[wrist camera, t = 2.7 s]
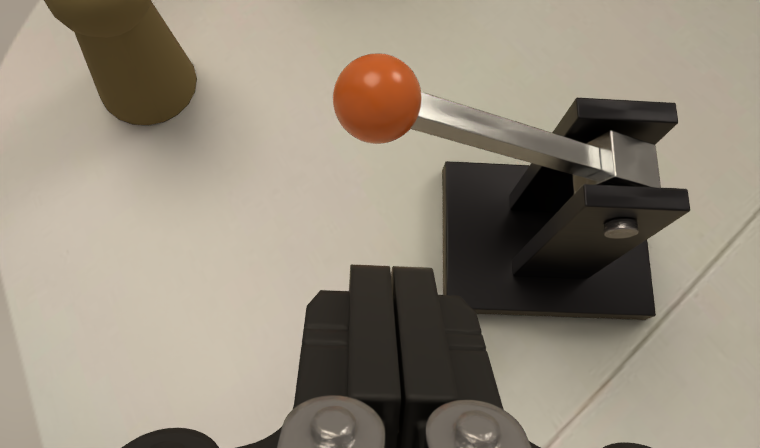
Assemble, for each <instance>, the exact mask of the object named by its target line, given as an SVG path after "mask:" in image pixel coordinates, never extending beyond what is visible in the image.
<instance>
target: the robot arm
mask: <svg viewBox="0 0 760 448" xmlns="http://www.w3.org/2000/svg"><path fill="white" fill-rule="evenodd" d="M122 448H219V447H218V446H217V444H216V443H215V442H214V441H213V440H212V439H211V438H210V437H208V436H207V435H205V434H203V433H201V432H198V431H196V430H191V429H187V428H167V429H161V430H156V431H153V432H150V433H147V434H145V435H142V436H140V437H138V438H136V439H134V440H133V441H131V442H129V443H128V444H126V445H125V446H123V447H122ZM237 448H540V447H538V446H536V445H535V444H533V443H531V442H530V441H528V438H527V436H526V433H525V431H524V430H523V428H522V426H521V425H520V424H519V422H518V421H517V420H516V419H515V418H514V417H513V416H512V415H510V414H509V413H507V412H506V411H504V410H503V406H502V403H501V399H500V396H499V392H498V388H497V385H496V381H495V378H494V374H493V371H492V367H491V364H490V360H489V357H488V353H487V351H486V346H485V343H484V339H483V336H482V335H481V328H480V325H479V321H478V318H477V314H476V312H475V311H474V310H473V309H472V308H471V307H470V306H469V305H468V304H467V303H466V302H465V301H464V300H463V298H462V297H461V296H451V295H438V293H437V288H436V283H435V278H434V273H433V269H432V268H422V267H399V266H393V267H392V272H390V266H373V265H351V266H350V282H349V291H326V290H320V291H319V293H318V294H317V295H316V296H315V297H314V298H313V299H312V301H311V302H310V303H309V304H308V305H307V308H306V315H305V323H304V331H303V339H302V347H301V354H300V362H299V370H298V378H297V385H296V393H295V401H294V407H293V410H292V411H291V412H290V413H289V414H288V416H287V417H286V419H285V421H284V423H283V426H282V427H281V428H280V429H279V430H277V431H276V432H275V433H273V434H272V435H270V436H268V437H267V438H265V439H263V440H260V441H258V442H256V443H252V444H249V445H245V446H241V447H237ZM603 448H651V447H648V446H645V445H641V444H636V443H615V444H610V445H607V446H605V447H603Z"/></svg>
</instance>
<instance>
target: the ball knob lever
mask: <svg viewBox="0 0 760 448" xmlns="http://www.w3.org/2000/svg"><path fill="white" fill-rule="evenodd" d="M333 105H334V110H335V113H336V116H337V118H338V120H339V122H340V124H341V125H342V126H343V128H344V129H345V130H346V131H347V132H348V133H349V134H351V135H352V136H354V137H355V138H357V139H359V140H361V141H364V142H367V143H373V144H380V143H387V142H391V141H394V140H396V139H398V138H400V137H401V136H403V135H404V134H405V133H406V132H407V131H409V130H410V129H412V130H416V131H419V132H423V133H427V134H430V135H434V136H437V137H441V138H444V139H448V140H451V141H455V142H459V143H462V144H466V145H469V146H473V147H476V148H480V149H484V150H487V151H491V152H494V153H498V154H501V155H505V156H508V157H512V158H516V159H519V160H523V161H526V162H530V163H533V164H537V165H540V166H544V167H548V168H551V169H555V170H558V171H562V172H565V173H569V174H572V175H573V184H574V194H575V193H576V192H577V191H578V190H579V189H580V188H581V187H582V185H584V184H594V185H614V186H635V187H656V188H661V185H660V177H659V168H658V160H657V152H656V146H655V145H654V144H651V143H648V142H645V141H642V140H639V139H636V138H633V137H630V136H627V135H624V134H621V133H618V132H615V131H612V130H610V131H608V132H606V133H604V134H602V135H600V136H598V137H596V138H594V139H592V140H590V141H588V142H586V143H583V142H580V141H576V140H573V139H570V138H567V137H564V136H561V135H557V134H554V133H551V132H548V131H545V130H541V129H538V128H535V127H532V126H529V125H525V124H522V123H519V122H516V121H513V120H510V119H506V118H503V117H500V116H497V115H494V114H490V113H487V112H484V111H481V110H478V109H474V108H471V107H468V106H465V105H462V104H458V103H455V102H452V101H449V100H446V99H443V98H439V97H436V96H433V95H430V94H427V93H423V92H421V88H420V85H419V82H418V80H417V78H416V76H415V74H414V73H413V71H412V70H411V69H410V68H409V67H408V66H407V65H406V64H405V63H404V62H402V61H401V60H399V59H397V58H396V57H393V56H390V55H386V54H368V55H365V56H361V57H359V58H357V59H355V60H354V61H352V62H351V63H350V64H348V65H347V66H346V67H345V68H344V69H343V71H342V72H341V74H340V75H339V77H338V79H337V81H336V84H335V87H334V92H333Z"/></svg>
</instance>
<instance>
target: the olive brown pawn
mask: <svg viewBox="0 0 760 448" xmlns="http://www.w3.org/2000/svg"><path fill="white" fill-rule="evenodd" d="M44 1H45V3H46V4H47V6H48V8H49V9H50V11H51V12H52V14H53V15H54V17H55V18H57V19H58V20H59V21H60V22H62V23H63V24H64V25H66V26H67V27H68V28H70V29H71V30H72V31H74V32H75V35H76V37H77V40H78V42H79V45H80V47H81V50H82V53H83V55H84V58H85V60H86V63H87V65H88V68H89V70H90V73H91V75H92V78H93V81H94V83H95V86H96V88H97V91H98V93H99V96H100V98H101V100H102V102H103V104H104V105H105V107H106V108H107V110H108V111H109V112H110V113H112V114H113V115H114V116H115V117H117V118H118V119H120V120H122V121H125V122H128V123H131V124H136V125H152V124H156V123H161V122H165V121H167V120H168V119H170V118H172V117H174V116H176V115H178V114H179V113H180V112H181V111H182V110H183V109H184V108H185V107H186V106H187V105H188V104H189V102H190V100H191V98H192V96H193V94H194V92H195V87H196V80H197V78H196V74H195V70H194V66H193V64H192V63H191V61H190V60H189V58H188V57H187V55H186V54H185V52H184V51H183V49H182V48H181V46H180V44H179V43H178V41H177V40H176V38H175V37H174V35H173V34H172V32H171V31H170V29H169V28H168V26H167V25H166V23H165V21H164V20H163V18H162V17H161V15H160V14H159V12H158V11H157V9H156V8H155V6H154V5H153V3H152V2H151V0H44Z"/></svg>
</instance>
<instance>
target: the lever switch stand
mask: <svg viewBox="0 0 760 448" xmlns="http://www.w3.org/2000/svg"><path fill="white" fill-rule="evenodd" d="M677 124H678V117H677V110H676V104H675V103H666V102H647V101H629V100H611V99H593V98H576V99H575V101H574V102H573V104H572V105H571V107H570V108H569V109H568V111H567V112H566V114H565V115H564V117H563V118H562V120H561V121H560V122H559V124H558V125H557V127H556V128H555V130H554V131H553V133H554V134H557V135H561V136H564V137H567V138H570V139H573V140H576V141H580V142H583V143H586V142H588V141H590V140H592V139H594V138H596V137H598V136H600V135H602V134H604V133H606V132H608V131H610V130H612V131H615V132H618V133H621V134H624V135H627V136H630V137H633V138H636V139H639V140H642V141H645V142H648V143H651V144H654V145H655V144H656V143H657V142H658V141H660V140H661V139H662V138H663V137H664V136H665V135H666V134H667V133H668V132H669V131H670V130H671V129H672V128H673V127H674V126H675V125H677ZM442 186H443V295H451V296H461V297H462V298H463V300H464V301H465V302H466V303H467V304H468V305H469V306H470V307H471V308H472V309H473V310H474V311H475V312H476V314H501V315H528V316H555V317H582V318H609V319H637V320H646V319H649V318H651V317H654V316H655V315H656V314H655V305H654V296H653V287H652V279H651V270H650V261H649V252H648V243H647V239H648V238H650V237H651V236H653V235H654V234H656V233H657V232H659V231H660V230H662V229H663V228H665V227H666V226H668V225H669V224H671V223H673V222H674V221H676V220H677V219H679V218H680V217H682V216H683V215H685V214H686V213H688V212H689V211H690V204H689V197H688V190H687V189H677V188H656V187H635V186H614V185H594V184H584V185H582V187H581V188H580V189H579V190H578V191H577V192H576V193H575V194H574V184H573V175H572V174H569V173H565V172H562V171H558V170H555V169H551V168H548V167H544V166H540V165H537V164H533V163H531V164H530V166H529V165H509V164H489V163H468V162H448V161H447V162H445V165H444V167H443V170H442Z"/></svg>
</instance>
